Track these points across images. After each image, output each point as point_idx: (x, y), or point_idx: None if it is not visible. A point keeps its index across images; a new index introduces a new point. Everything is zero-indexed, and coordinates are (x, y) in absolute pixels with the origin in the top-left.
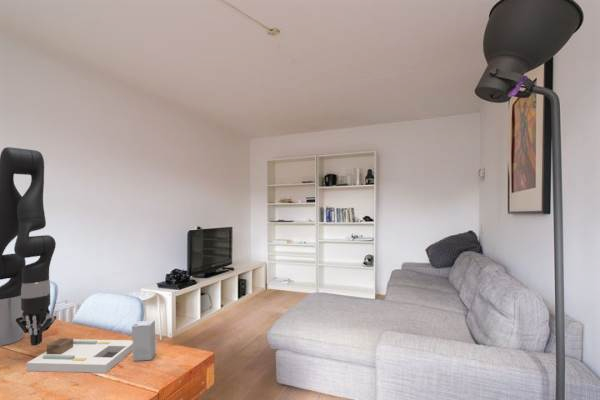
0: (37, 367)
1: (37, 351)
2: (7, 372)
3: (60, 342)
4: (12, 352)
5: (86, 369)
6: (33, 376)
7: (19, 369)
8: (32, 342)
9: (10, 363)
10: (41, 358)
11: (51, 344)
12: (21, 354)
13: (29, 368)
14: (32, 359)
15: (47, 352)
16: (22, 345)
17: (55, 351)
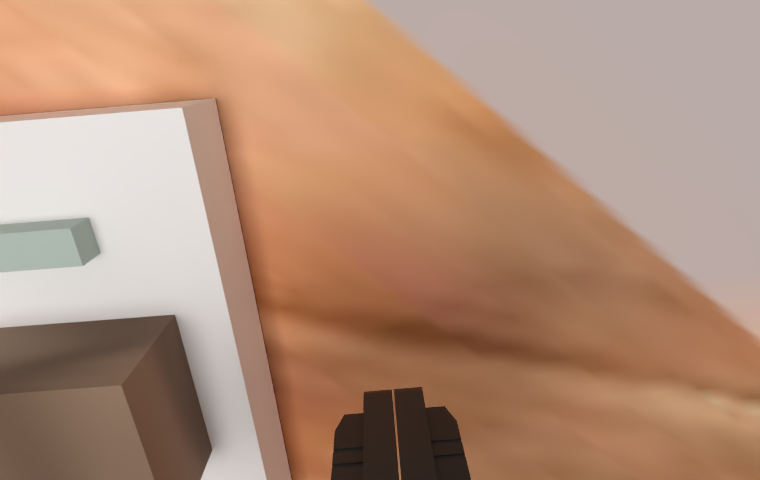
0: (63, 114)
1: (486, 405)
2: (393, 45)
3: (15, 461)
4: (712, 366)
5: None
6: (6, 8)
7: (323, 115)
8: (408, 415)
9: (541, 203)
10: (116, 224)
11: (70, 406)
12: (589, 348)
13: (167, 103)
14: (200, 191)
15: (156, 326)
16: (725, 465)
17: (41, 340)
